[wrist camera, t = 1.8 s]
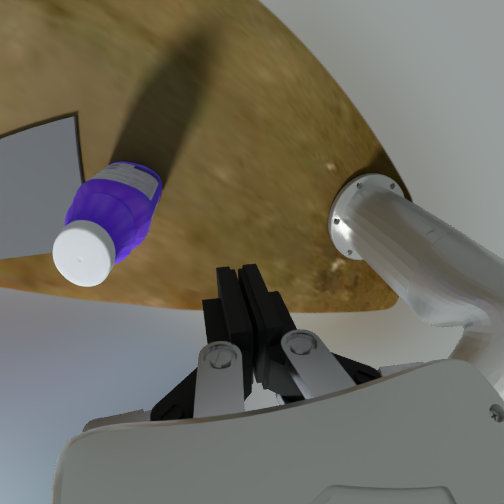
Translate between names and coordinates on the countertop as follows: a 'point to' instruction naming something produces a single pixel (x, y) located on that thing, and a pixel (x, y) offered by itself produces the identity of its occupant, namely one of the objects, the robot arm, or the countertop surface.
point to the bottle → (106, 221)
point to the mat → (37, 186)
